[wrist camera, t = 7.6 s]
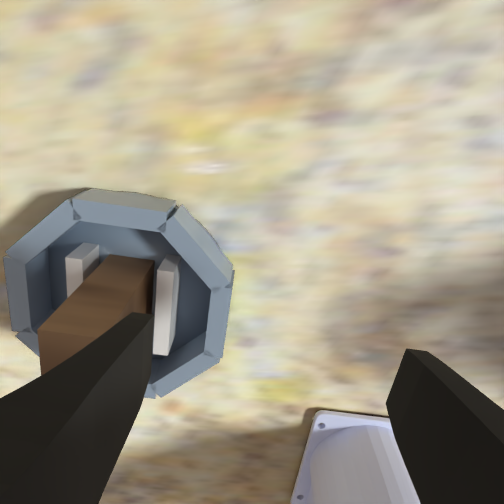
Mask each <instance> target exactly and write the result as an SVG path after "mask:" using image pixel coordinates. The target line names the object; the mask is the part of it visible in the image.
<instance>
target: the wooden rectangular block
mask: <svg viewBox="0 0 504 504" xmlns="http://www.w3.org/2000/svg"><path fill="white" fill-rule="evenodd" d="M154 265H155V260H148V259H141V258H134V257H126V256H119V255H112V254H110V255H109V256H108V257H107V258H106V259H105V260H104V261H103V262H102V263H101V264H100V265H99V266H98V267H97V268H96V269H95V270H94V271H93V272H92V273H91V274H90V275H89V276H88V277H87V278H86V279H85V281H84V282H83V283H82V284H81V285H80V286H79V287H78V288H77V289H76V290H75V291H74V292H73V293H72V294H71V295H70V296H69V297H68V298H67V299H66V300H65V301H64V302H63V303H62V304H61V305H60V306H59V308H58V309H57V310H56V311H55V312H54V313H53V314H52V315H51V316H50V317H49V318H48V319H47V320H46V321H45V322H44V323H43V324H42V325H41V326H40V327H39V328H38V329H37V334H38V344H39V355H40V366H41V375H43V374H45V373H46V372H48V371H50V370H51V369H53V368H54V367H56V366H57V365H59V364H60V363H62V362H63V361H65V360H66V359H68V358H70V357H71V356H73V355H74V354H76V353H77V352H78V351H80V350H81V349H83V348H84V347H85V346H87V345H88V344H90V343H91V342H92V341H94V340H95V339H97V338H98V337H99V336H101V335H102V334H103V333H105V332H106V331H107V330H109V329H110V328H111V327H113V326H114V325H115V324H117V323H118V322H119V321H121V320H122V319H123V318H125V317H126V316H127V315H129V314H130V313H132V312H136V313H143V314H151V315H152V305H153V285H154Z"/></svg>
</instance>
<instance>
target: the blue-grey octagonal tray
mask: <svg viewBox="0 0 504 504" xmlns="http://www.w3.org/2000/svg"><path fill="white" fill-rule="evenodd" d="M5 252H6V253H7V254H8V255H6V256H4V257H3V261H4V269H5V277H6V285H7V294H8V302H9V310H10V318H11V326H12V331H18V332H19V333H18V334H17V335H15V336H16V337H17V338H18V339H19V340H20V341H22V342H23V343H24V344H25V345H26V346H27V347H29V348H30V349H31V350H32V351H33V352H34V353H36V354H37V355H38V356H39V357H40V355H39V344H38V334H37V329H38V328H39V327H40V326H41V325H42V324H43V323H44V322H45V321H46V320H47V319H48V318H49V317H50V316H51V315H52V314H53V313H54V312H55V311H56V310H57V309H58V308H59V306H60V305H61V304H62V303H63V302H64V301H65V300H66V299H67V298H68V297H69V296H70V295H71V294H72V293H73V292H74V291H75V290H76V289H77V288H78V287H79V286H80V285H81V284H82V283H83V282H84V281H85V279H86V278H87V277H88V276H89V275H90V274H91V273H92V272H93V271H94V270H95V269H96V268H97V267H98V266H99V265H100V264H101V263H102V262H103V261H104V260H105V259H106V258H107V257H108V256H109V255H110V254H112V255H119V256H126V257H134V258H141V259H148V260H155V265H154V285H153V305H152V315H154V328H153V347H152V366H151V375H150V379H149V382H148V385H147V389H146V392H145V395H144V397H145V398H153V399H155V398H156V395H159V396H160V397H163V396H165V395H166V394H168V393H169V392H171V391H173V390H174V389H176V388H178V387H179V386H181V385H183V384H184V383H186V382H188V381H189V380H191V379H192V378H194V377H196V376H197V375H199V374H201V373H202V372H204V371H206V370H207V369H209V368H211V367H212V366H214V365H215V364H217V363H219V361H220V358H222V356H223V349H224V342H225V335H226V328H227V321H228V314H229V307H230V300H231V293H232V286H233V279H234V272H235V270H232V269H233V264H232V263H231V262H230V261H229V260H228V258H227V257H226V256H225V255H224V254H223V252H222V251H221V250H220V248H219V246H218V244H217V243H216V241H215V240H214V239H213V237H212V236H211V234H210V233H209V232H208V231H207V230H206V229H205V228H204V227H203V226H202V225H201V223H199V222H198V221H197V220H196V219H195V218H194V217H193V216H192V215H191V214H190V213H189V211H188V210H187V209H186V208H185V207H184V205H183V204H181V205H180V206H179V207H178V206H176V200H169V199H162V198H157V197H154V196H151V195H146V194H141V193H136V192H124V191H120V192H115V191H108V190H101V189H94V188H91V189H90V190H88V191H87V190H85V191H83V192H81V193H79V194H77V195H75V196H73V197H71V198H69V199H67V200H65V201H64V202H63V203H62V204H61V205H60V206H58V207H57V208H56V209H55V210H54V211H52V212H51V213H50V214H49V215H48V216H47V217H45V218H44V219H43V220H42V221H41V222H40V223H38V224H37V225H36V226H35V227H34V228H32V229H31V230H30V231H29V232H28V233H27V234H25V235H24V236H23V237H22V238H21V239H20V240H18V241H17V242H16V243H15V244H14V245H12V246H11V247H10V248H9V249H8V250H7V251H5Z"/></svg>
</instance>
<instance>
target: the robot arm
mask: <svg viewBox="0 0 504 504" xmlns="http://www.w3.org/2000/svg"><path fill="white" fill-rule="evenodd" d="M153 328H154V315H151V314H143V313H136V312H132V313H130V314H129V315H127V316H126V317H125V318H123V319H122V320H121V321H119V322H118V323H117V324H115V325H114V326H113V327H111V328H110V329H109V330H107V331H106V332H105V333H103V334H102V335H101V336H99V337H98V338H97V339H95V340H94V341H92V342H91V343H90V344H88V345H87V346H85V347H84V348H83V349H81V350H80V351H78V352H77V353H76V354H74V355H73V356H71V357H70V358H68V359H66V360H65V361H63V362H62V363H60V364H59V365H57V366H56V367H54V368H53V369H51V370H50V371H48V372H46V373H45V374H43V375H41V376H40V377H38V378H36V379H35V380H33V381H31V382H30V383H28V384H26V385H24V386H22V387H21V388H19V389H17V390H15V391H13V392H11V393H9V394H8V395H6V396H4V397H2V398H0V504H98V503H99V501H100V498H101V496H102V493H103V491H104V488H105V486H106V484H107V482H108V479H109V477H110V475H111V473H112V471H113V468H114V466H115V464H116V462H117V459H118V457H119V455H120V453H121V450H122V448H123V446H124V444H125V441H126V439H127V437H128V435H129V432H130V430H131V428H132V426H133V423H134V421H135V419H136V417H137V414H138V412H139V410H140V407H141V404H142V401H143V398H144V395H145V392H146V389H147V385H148V382H149V379H150V375H151V366H152V347H153ZM386 406H387V410H388V415H389V418H383V417H375V416H367V415H359V414H351V413H343V412H335V411H327V410H320V411H318V412H316V414H315V416H314V419H313V423H312V426H311V430H310V433H309V437H308V441H307V444H306V448H305V451H304V455H303V458H302V462H301V465H300V469H299V472H298V476H297V479H296V483H295V486H294V490H293V494H292V497H291V501H290V502H291V504H504V410H503V409H502V408H501V407H499V406H498V405H497V404H496V403H494V402H493V401H492V400H490V399H489V398H488V397H487V396H485V395H484V394H483V393H481V392H480V391H479V390H478V389H476V388H475V387H474V386H473V385H471V384H470V383H469V382H467V381H466V380H465V379H464V378H462V377H461V376H460V375H459V374H457V373H456V372H455V371H454V370H452V369H451V368H450V367H448V366H447V365H446V364H444V363H443V362H442V361H440V360H439V359H438V358H436V357H435V356H433V355H432V354H430V353H429V352H427V351H421V350H413V349H406V351H405V353H404V356H403V359H402V361H401V364H400V367H399V369H398V372H397V375H396V377H395V380H394V383H393V385H392V388H391V391H390V393H389V396H388V399H387V401H386ZM319 423H322V424H319Z"/></svg>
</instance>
